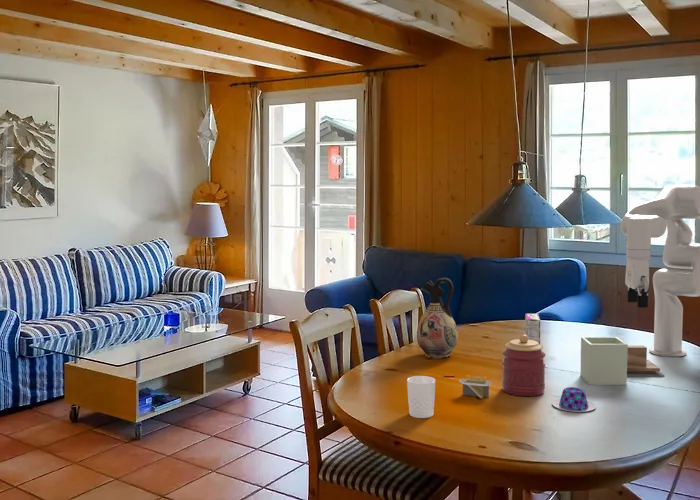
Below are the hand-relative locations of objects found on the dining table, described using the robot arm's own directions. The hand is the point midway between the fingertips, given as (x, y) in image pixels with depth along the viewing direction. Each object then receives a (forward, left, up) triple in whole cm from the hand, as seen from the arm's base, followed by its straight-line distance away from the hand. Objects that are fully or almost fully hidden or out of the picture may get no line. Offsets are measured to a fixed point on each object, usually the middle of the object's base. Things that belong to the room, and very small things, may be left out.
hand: (637, 304), depth 233 cm
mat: (0, 0, -23) cm, 23 cm away
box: (+11, -14, -23) cm, 29 cm away
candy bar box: (-13, -32, -23) cm, 42 cm away
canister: (+23, -42, -23) cm, 53 cm away
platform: (+30, -57, -23) cm, 69 cm away
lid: (0, 0, -21) cm, 21 cm away
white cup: (+46, -74, -23) cm, 90 cm away
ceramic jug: (-20, -65, -23) cm, 72 cm away
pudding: (+38, -30, -23) cm, 54 cm away
